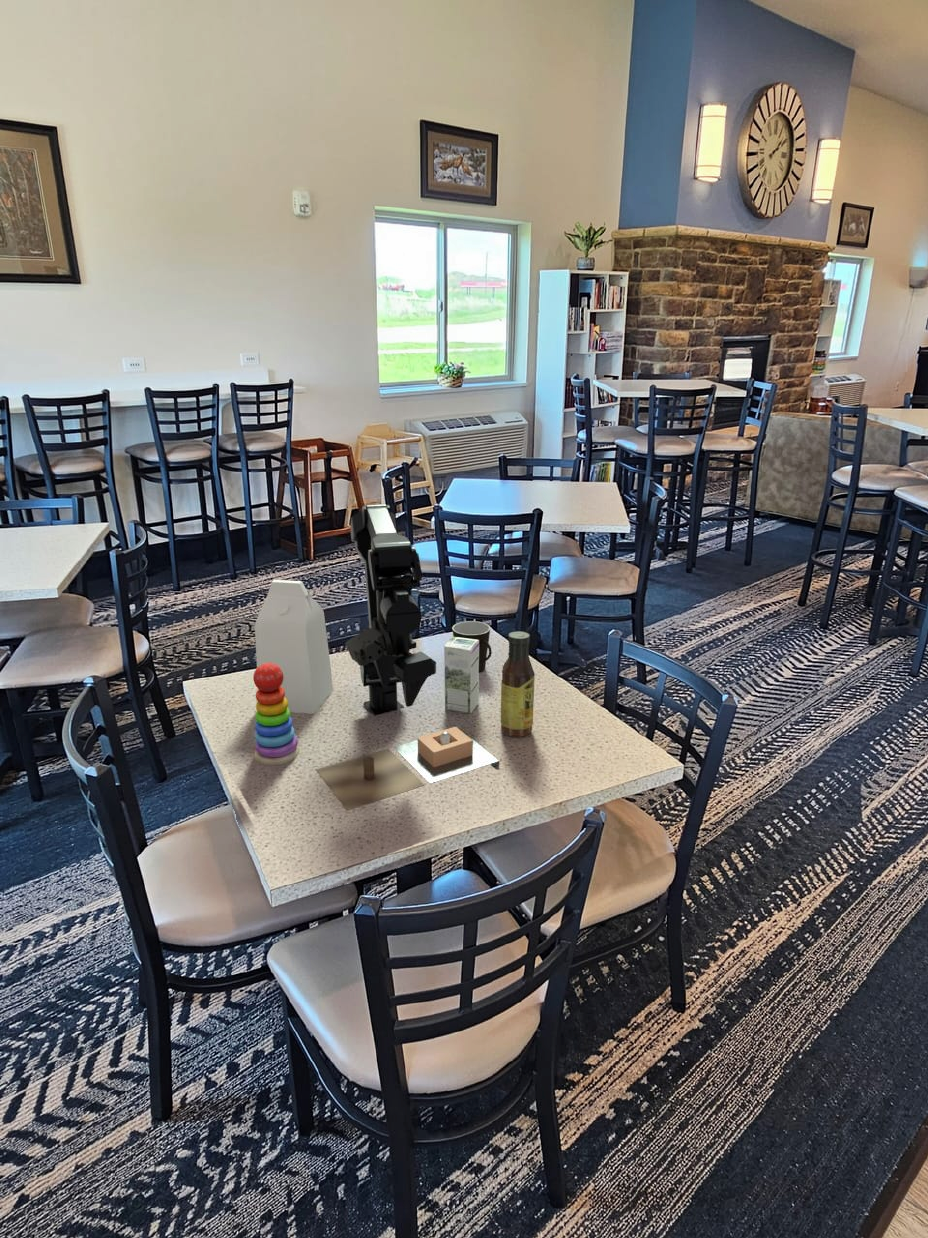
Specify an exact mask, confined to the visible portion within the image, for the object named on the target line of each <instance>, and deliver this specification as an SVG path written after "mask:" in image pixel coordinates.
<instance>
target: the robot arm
mask: <svg viewBox="0 0 928 1238" xmlns="http://www.w3.org/2000/svg"><path fill="white" fill-rule="evenodd" d="M349 525H350V528H349V530H350V538H351V542H353V543H354V549H355V551H356V552H357V555H359V557H360V559H361V560H362V561H363V564H364V573H365V585H366V586H365V587H366V598H367V611H368V612H367V613H368V622H369V628H366V629H362V630H361V631H360V632H359V633H358V634H356V635H355V636H353V637H351V638H350V639H348V640H347V641H346V642H345V644H344V645H345V647H346V649H347V651H348V653H349V655H350V658H351V659H352V661H354V662H356V664H358V666H360V667H359V670H360V679H361V682H362V686H363V687H364V688H365V687H368V696H369V697H368V699H369V700H367V701H364V702H363V706H364V707H365V708H366V709H367V710H368V711H369V712H371V714H372V715H373V716H379V715H383V714H386V713H390V712H395V711H397V710H401V709H405V707H404V705H403V704H402V703H401V702H399V700H398V685H397V684H398V683H401V685H402V693H403V699H404V704H405V706H406V707H407V708H409V707H412V706H413V705H414V703H415V701H416V699H417V698H418V695H419V693H420V692H421V690H422V687H423V686H424V684H425V682H426V681H427V679H428V678H429V677H431V676H433V675H436V673H437V662H436V661H435V660H434V659H433V658H431V657H430V656H428V655H427V654H426V653H424V652H423V651H419V652H415V653H411V652H410V650H412V649H413V650H414V649H416V648H417V641H415V640H414V639H413V638H412V633H415V632H416V630H417V629H418V628H419V627H420V625H421V623H422V612H421V609H420V608H419V606H418V604H417V602H416V600H415V599H414V597H413V594H412V589H413V588H421V580H423V573H422V572H423V571H422V566H421V562H420V557H419V553H418V552H417V548H415V546H412V543H411V542H410V540H409V538H408V537H406V536H404V535H401V534H398V532H397V526H396V525H397V524H396V518H395V513H393V512H392V511H391V506H390V504H386V503H376V504H375V503H373V504H365V505H362V507H361V511H358V512H357V513H355V514H354V515H352V516H351V518H350V524H349ZM412 575H413V576H412Z"/></svg>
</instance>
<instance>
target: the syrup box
mask: <svg viewBox="0 0 928 1238" xmlns="http://www.w3.org/2000/svg"><path fill="white" fill-rule="evenodd" d="M443 651H444V655H443V656H444V710H445V711H450V712H457V713H462V714H469V715H470V714H472V713H473V711H474V710H475V709H476V708H477V706H478V704H479V702H480V697H479V689H480V688H479V687H480V685H479V677H480V675H479V674H480V673H479V640H475V639H468V638H460V637H453V636H452V637H451V638H450V639H449V640H448V641H447V642H446V644H445V645H444V648H443Z"/></svg>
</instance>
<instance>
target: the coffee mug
mask: <svg viewBox="0 0 928 1238" xmlns="http://www.w3.org/2000/svg"><path fill="white" fill-rule="evenodd" d="M451 630H452V637H460V638H468V639H475V640H479V674H481V673H483V672H484V671H485V670H486V664H487V661H488V660H489V659H490V658H491V657H492V653H493V652H492V651H493V650H492V647H491V645H490V643H489V641H490V636H491V635H490V634H491V626H490V625H489V624H487V623H485V622H482V621H475V620H474V621H473V620H467V621H460V622H457V623H455V624H454V625H452V627H451Z"/></svg>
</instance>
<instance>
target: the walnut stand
mask: <svg viewBox="0 0 928 1238" xmlns="http://www.w3.org/2000/svg"><path fill="white" fill-rule="evenodd" d="M315 771H316V772H317V774H318V775H319V776H320V777H321V779H322V780H323V781H324V783H326V785H327V787H328V788H329V789H330V790H331V792H332V793H333V795H334V796H335V797H336V798H337V799H338V801H339V802H340V803H341V804H342V806H343V808H344V809H345V810H346V811H350V810H353V809H357V808H360V807H363V806H366V805H368V804H372V803H374V802H378V801H381V800H384V799H387V798H390V797H394V796H396V795H400V794H402V793H403V794H404V793H405V792H408V791H412V790H415V789H418V788H421V787H424V786H425V783H424V782H422V781H421V780H420V779H419V778H418V777H417V775H415V773H413V772H412V770H411V769H409V768H408V766H407V765H405V763H403V761H402V760H401V759H400V758H399V757H398V756H397V755H396V754H394V752H393V751H391V749H390V748H386V749H382V750H379V751H375V752H371V753H368V754H364V755H362V756H357V757H354V758H351V759H348V760H344V761H342V762H337V763H335V764H331V765H327V766H324V767H323V766H322V767H320V768H318V769H315Z"/></svg>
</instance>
